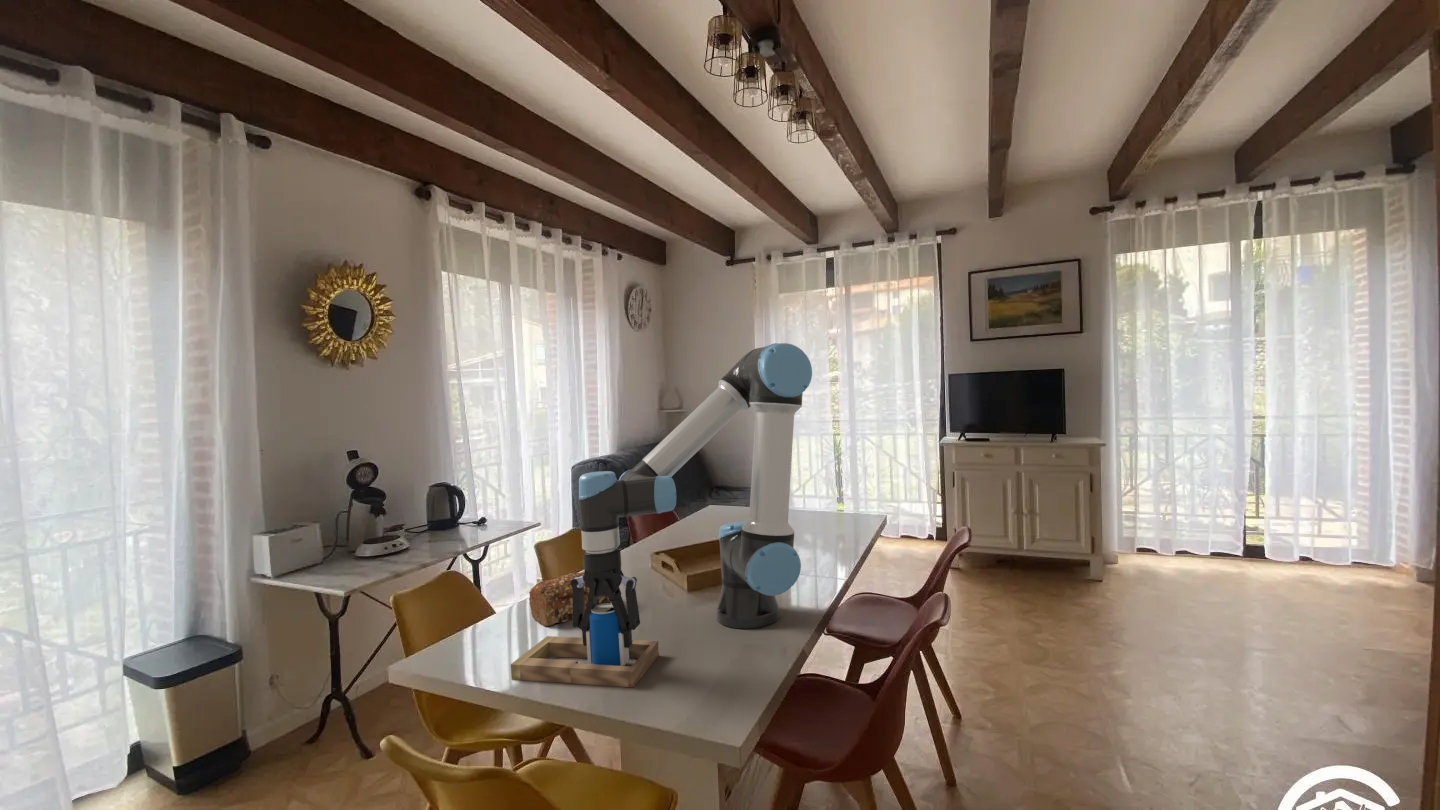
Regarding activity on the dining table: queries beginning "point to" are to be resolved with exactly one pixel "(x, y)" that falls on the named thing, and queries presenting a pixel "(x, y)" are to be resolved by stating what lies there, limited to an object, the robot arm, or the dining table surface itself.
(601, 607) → the beverage can
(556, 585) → the bread
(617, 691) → the dining table surface
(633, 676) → the wooden rectangular frame
